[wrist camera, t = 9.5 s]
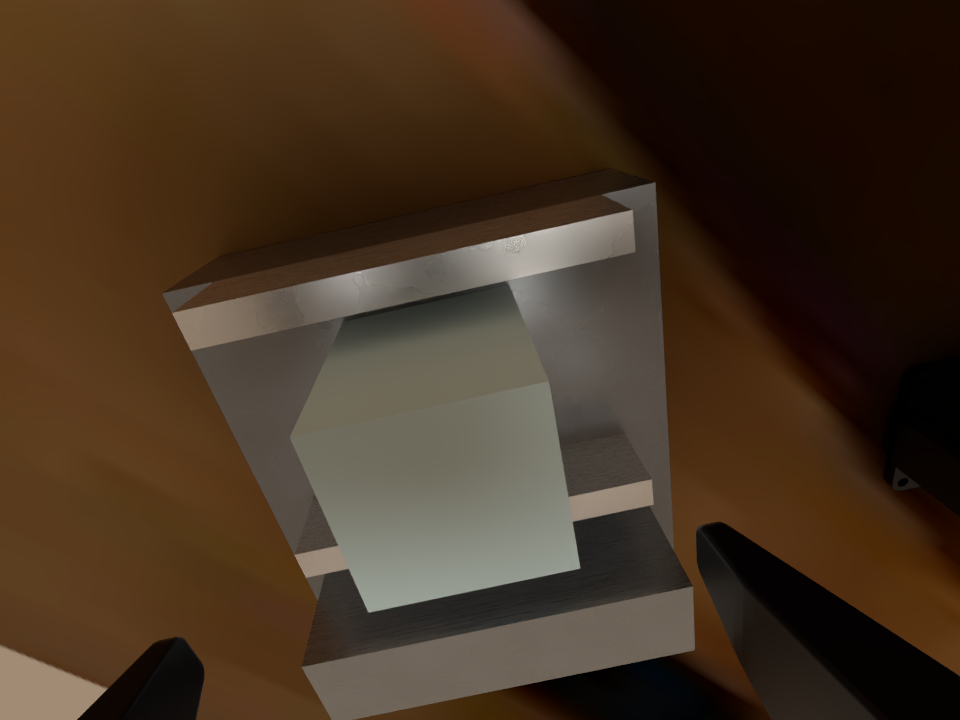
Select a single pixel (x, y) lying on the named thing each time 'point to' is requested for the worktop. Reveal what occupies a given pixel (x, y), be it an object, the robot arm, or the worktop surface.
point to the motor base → (577, 407)
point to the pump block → (438, 452)
